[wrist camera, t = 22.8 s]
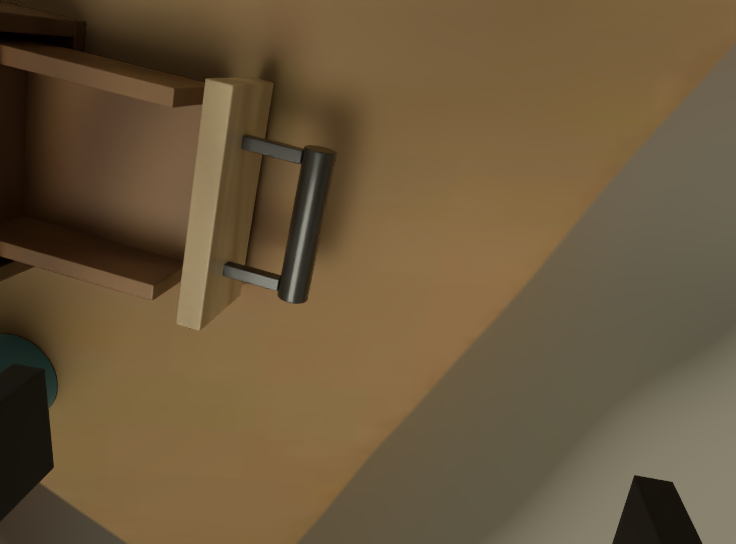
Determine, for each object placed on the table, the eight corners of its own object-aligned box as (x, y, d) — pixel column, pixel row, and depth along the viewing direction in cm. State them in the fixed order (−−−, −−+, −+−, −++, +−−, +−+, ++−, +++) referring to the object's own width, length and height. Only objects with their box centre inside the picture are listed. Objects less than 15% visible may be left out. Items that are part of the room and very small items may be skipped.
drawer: (359, 103, 28) (334, 110, 23) (314, 316, 31) (285, 357, 27) (30, 22, 30) (-52, 14, 25) (25, 233, 33) (-47, 258, 29)
